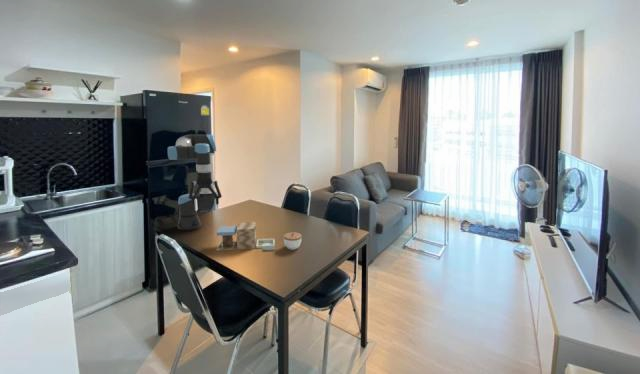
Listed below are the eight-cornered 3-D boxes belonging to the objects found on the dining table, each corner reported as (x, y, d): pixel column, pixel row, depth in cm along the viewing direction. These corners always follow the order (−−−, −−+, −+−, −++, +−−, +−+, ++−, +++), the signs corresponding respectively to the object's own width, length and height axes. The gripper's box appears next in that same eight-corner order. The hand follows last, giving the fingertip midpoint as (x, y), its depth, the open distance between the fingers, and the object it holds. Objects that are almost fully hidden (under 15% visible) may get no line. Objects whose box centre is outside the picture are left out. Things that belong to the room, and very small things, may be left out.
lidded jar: (291, 242, 188) (291, 228, 186) (305, 246, 182) (305, 232, 180) (279, 248, 179) (279, 233, 177) (293, 252, 173) (293, 237, 171)
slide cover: (216, 235, 171) (216, 232, 170) (219, 229, 180) (219, 226, 180) (235, 235, 172) (234, 231, 172) (237, 229, 182) (236, 226, 182)
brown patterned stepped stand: (215, 252, 172) (214, 230, 169) (219, 244, 183) (218, 223, 181) (255, 250, 175) (254, 228, 172) (256, 242, 187) (255, 222, 184)
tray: (256, 250, 175) (256, 246, 175) (257, 243, 186) (257, 239, 185) (274, 249, 177) (274, 245, 177) (274, 242, 187) (274, 238, 187)
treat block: (222, 247, 175) (222, 236, 174) (224, 244, 180) (223, 233, 179) (231, 247, 176) (231, 235, 175) (232, 243, 181) (232, 232, 180)
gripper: (180, 173, 162) (183, 212, 166) (223, 172, 165) (225, 211, 170) (184, 170, 169) (187, 208, 174) (225, 170, 173) (227, 207, 177)
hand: (206, 210), depth 172 cm, fingers open, 10 cm apart
